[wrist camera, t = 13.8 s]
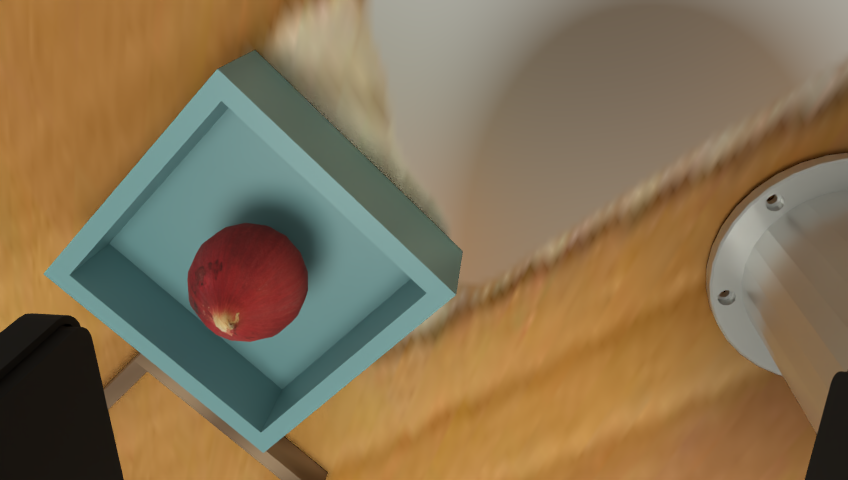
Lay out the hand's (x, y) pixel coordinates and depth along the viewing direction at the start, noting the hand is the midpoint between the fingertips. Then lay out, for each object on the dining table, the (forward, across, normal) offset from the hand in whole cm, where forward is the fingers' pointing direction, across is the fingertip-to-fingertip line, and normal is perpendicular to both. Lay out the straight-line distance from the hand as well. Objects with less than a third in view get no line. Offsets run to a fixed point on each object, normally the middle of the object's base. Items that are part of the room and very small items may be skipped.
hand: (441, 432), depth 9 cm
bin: (+28, +12, +11) cm, 33 cm away
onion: (+28, +12, +10) cm, 32 cm away
